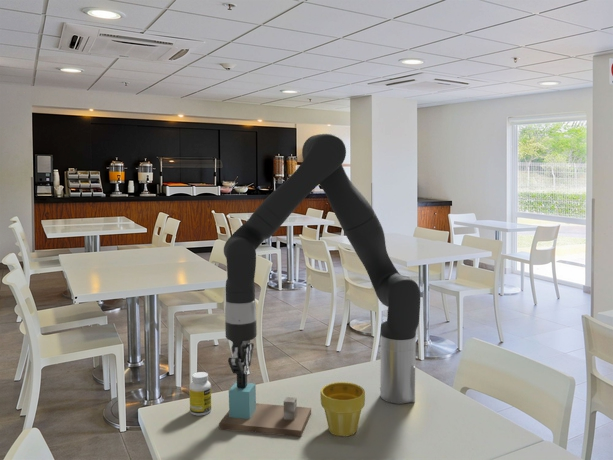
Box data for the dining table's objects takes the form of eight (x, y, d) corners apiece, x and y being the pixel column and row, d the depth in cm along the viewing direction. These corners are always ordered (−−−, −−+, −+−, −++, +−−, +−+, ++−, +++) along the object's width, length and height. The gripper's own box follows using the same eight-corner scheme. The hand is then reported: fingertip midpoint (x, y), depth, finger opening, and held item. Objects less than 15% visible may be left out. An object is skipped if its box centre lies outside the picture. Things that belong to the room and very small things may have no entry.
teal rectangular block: (256, 409, 135) (255, 383, 135) (249, 419, 130) (249, 392, 130) (236, 407, 136) (235, 382, 136) (229, 417, 131) (228, 390, 131)
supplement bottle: (206, 417, 135) (205, 379, 134) (186, 415, 136) (185, 378, 135) (214, 407, 140) (213, 371, 139) (195, 406, 141) (194, 370, 140)
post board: (311, 413, 136) (311, 390, 136) (301, 436, 125) (300, 411, 124) (235, 407, 140) (235, 385, 140) (219, 429, 129) (218, 404, 128)
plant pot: (341, 445, 120) (341, 403, 119) (312, 428, 128) (311, 389, 127) (373, 431, 127) (374, 391, 126) (343, 415, 135) (343, 378, 134)
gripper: (247, 327, 123) (248, 399, 125) (263, 312, 136) (264, 378, 138) (216, 325, 125) (218, 397, 127) (235, 310, 138) (236, 375, 140)
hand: (242, 387), depth 133 cm, fingers closed
